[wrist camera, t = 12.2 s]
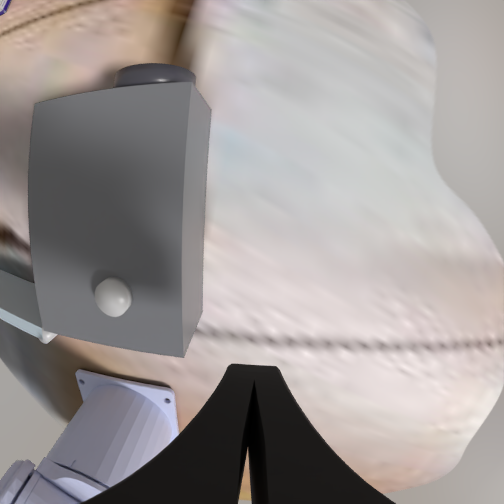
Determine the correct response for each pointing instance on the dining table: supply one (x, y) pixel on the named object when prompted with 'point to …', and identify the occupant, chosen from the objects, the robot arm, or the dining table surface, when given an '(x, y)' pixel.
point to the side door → (21, 306)
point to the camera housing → (121, 210)
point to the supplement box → (4, 6)
